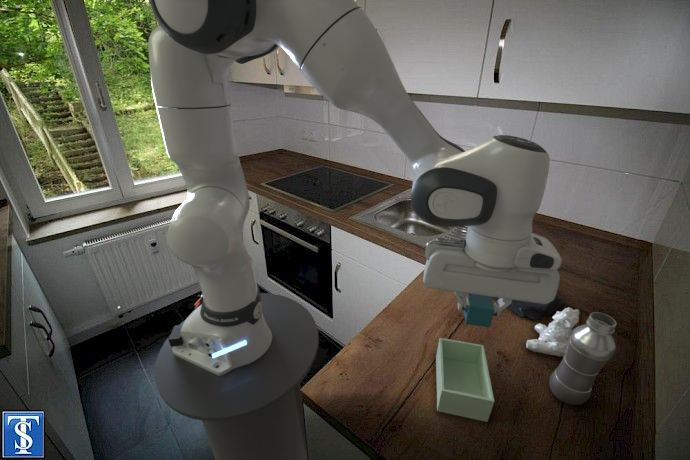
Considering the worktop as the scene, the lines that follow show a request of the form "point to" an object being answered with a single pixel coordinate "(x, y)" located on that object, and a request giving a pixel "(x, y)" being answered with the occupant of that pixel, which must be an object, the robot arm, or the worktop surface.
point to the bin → (463, 380)
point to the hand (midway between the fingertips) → (478, 311)
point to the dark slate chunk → (534, 308)
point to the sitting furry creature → (555, 333)
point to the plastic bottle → (584, 359)
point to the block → (479, 310)
